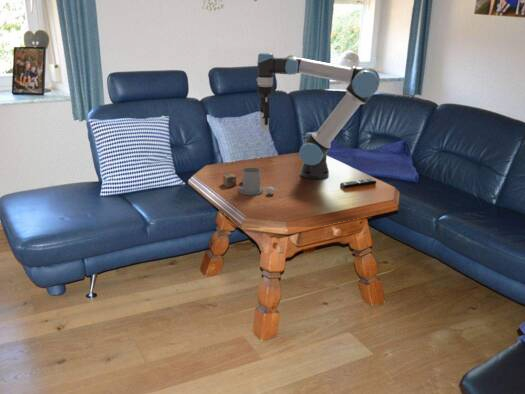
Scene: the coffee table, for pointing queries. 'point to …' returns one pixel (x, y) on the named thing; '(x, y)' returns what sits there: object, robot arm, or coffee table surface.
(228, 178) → the walnut block
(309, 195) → the coffee table surface
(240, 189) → the coaster
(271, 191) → the grey ball
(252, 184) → the cup
